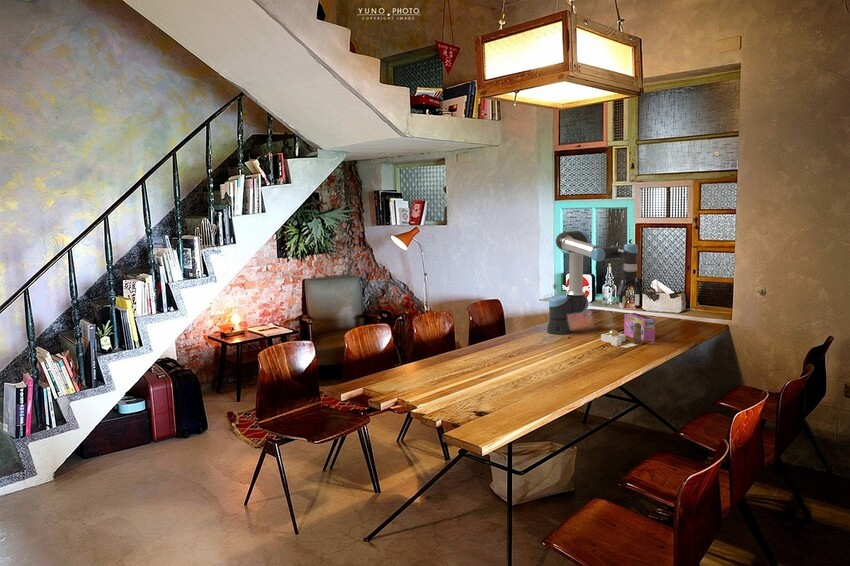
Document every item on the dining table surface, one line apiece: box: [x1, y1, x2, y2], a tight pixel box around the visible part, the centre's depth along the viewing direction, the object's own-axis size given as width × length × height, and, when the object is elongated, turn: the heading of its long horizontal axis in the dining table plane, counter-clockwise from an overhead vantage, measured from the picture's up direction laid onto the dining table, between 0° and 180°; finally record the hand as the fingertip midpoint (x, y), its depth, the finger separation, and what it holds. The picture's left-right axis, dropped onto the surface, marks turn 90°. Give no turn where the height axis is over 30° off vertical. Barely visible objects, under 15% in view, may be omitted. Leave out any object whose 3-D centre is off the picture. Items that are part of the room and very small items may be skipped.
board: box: [620, 342, 643, 349], centre depth 382 cm, size 22×16×1 cm
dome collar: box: [600, 332, 627, 344], centre depth 386 cm, size 10×10×4 cm
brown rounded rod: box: [632, 323, 642, 345], centre depth 377 cm, size 4×4×12 cm
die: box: [610, 337, 622, 347], centre depth 377 cm, size 4×4×4 cm
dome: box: [607, 329, 620, 337], centre depth 386 cm, size 7×7×6 cm
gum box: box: [623, 312, 656, 342], centre depth 397 cm, size 24×8×14 cm, turn 13°
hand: (629, 306), depth 380 cm, fingers open, 13 cm apart
